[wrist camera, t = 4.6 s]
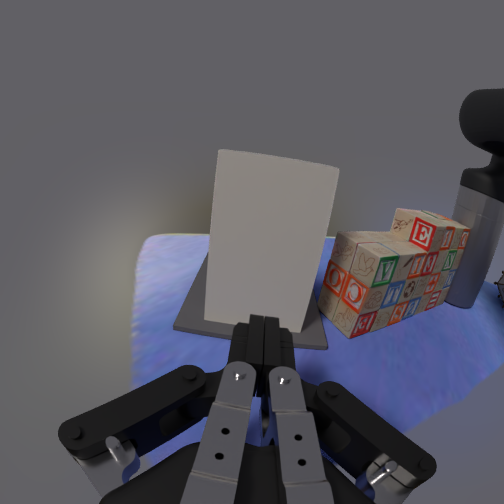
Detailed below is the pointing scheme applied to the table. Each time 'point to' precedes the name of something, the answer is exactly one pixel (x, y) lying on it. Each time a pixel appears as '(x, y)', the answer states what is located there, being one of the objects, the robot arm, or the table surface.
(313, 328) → the mat
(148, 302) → the table surface
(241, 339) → the robot arm
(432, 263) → the stack of blocks
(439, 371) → the table surface
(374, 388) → the table surface
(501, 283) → the game die
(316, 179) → the tile
